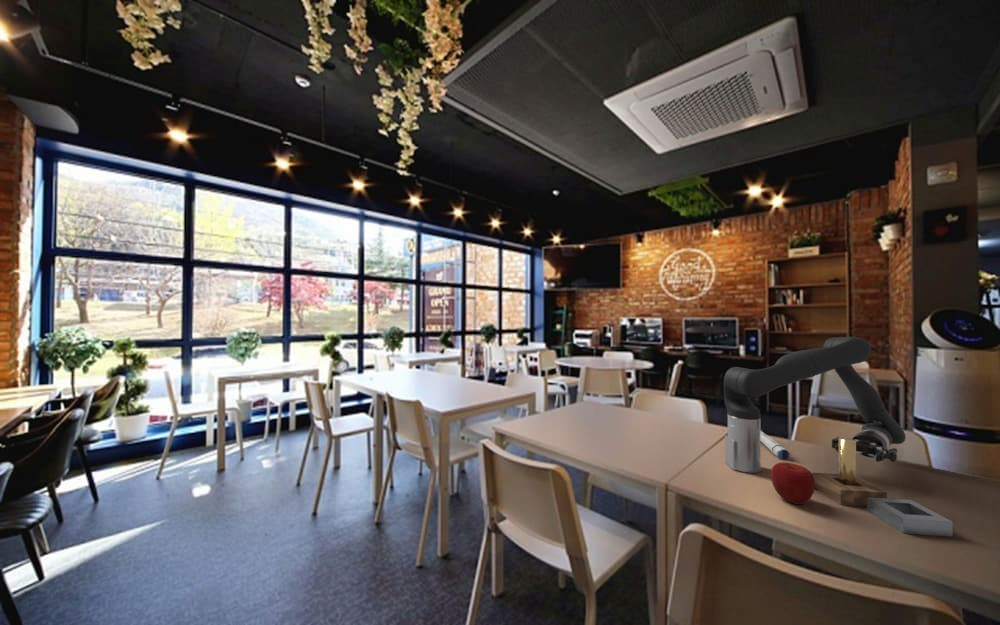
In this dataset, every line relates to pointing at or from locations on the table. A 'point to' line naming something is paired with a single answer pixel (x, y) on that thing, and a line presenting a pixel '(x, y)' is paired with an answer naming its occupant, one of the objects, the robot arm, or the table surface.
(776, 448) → the white marker pen
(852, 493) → the walnut block
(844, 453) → the brass axle
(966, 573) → the table surface
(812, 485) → the apple
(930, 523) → the grey steel socket block
